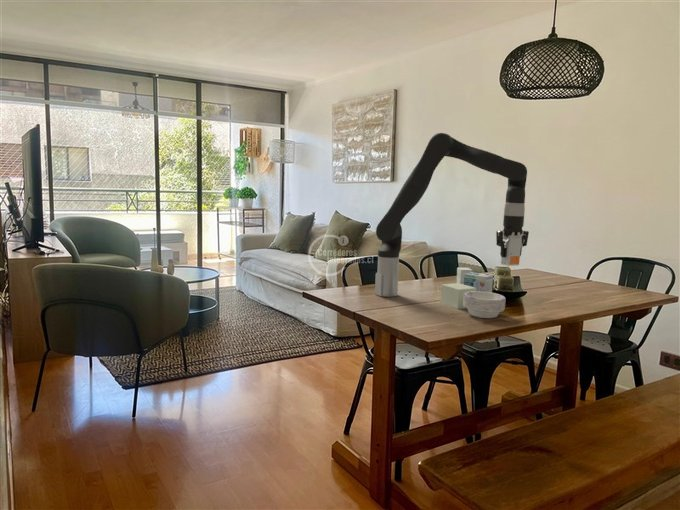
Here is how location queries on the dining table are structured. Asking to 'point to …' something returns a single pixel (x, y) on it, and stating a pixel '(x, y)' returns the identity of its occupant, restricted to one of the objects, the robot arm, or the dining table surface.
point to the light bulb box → (479, 281)
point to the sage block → (454, 294)
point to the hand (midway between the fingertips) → (510, 256)
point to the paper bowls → (484, 304)
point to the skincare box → (512, 250)
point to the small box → (462, 274)
